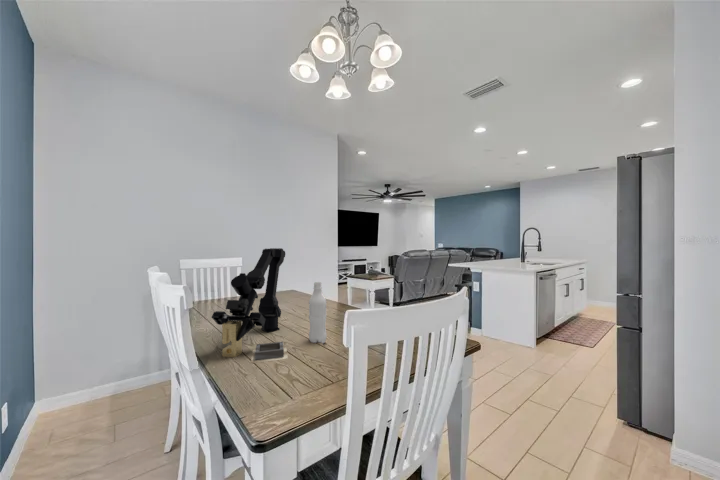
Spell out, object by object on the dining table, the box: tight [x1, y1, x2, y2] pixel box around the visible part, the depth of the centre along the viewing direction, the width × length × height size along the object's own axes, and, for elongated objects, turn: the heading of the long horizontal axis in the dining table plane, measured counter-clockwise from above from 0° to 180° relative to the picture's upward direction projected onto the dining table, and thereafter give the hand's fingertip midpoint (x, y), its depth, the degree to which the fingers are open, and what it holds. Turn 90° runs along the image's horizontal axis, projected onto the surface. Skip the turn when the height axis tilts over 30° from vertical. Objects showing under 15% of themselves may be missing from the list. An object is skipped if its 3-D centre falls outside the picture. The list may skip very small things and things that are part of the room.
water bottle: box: [308, 281, 328, 344], centre depth 117 cm, size 7×7×25 cm
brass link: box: [221, 321, 243, 358], centre depth 102 cm, size 4×5×12 cm
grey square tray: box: [250, 341, 289, 364], centre depth 103 cm, size 12×12×4 cm
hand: (230, 340), depth 101 cm, fingers closed on brass link, 5 cm apart
